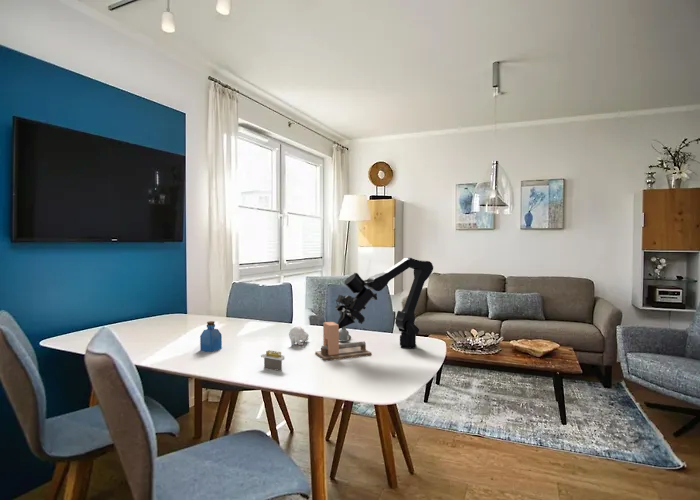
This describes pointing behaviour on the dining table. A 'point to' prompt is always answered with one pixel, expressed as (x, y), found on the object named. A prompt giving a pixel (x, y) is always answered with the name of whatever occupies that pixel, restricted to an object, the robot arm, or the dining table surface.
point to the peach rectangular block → (331, 337)
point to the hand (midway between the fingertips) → (336, 329)
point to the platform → (273, 360)
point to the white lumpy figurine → (298, 335)
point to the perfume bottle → (210, 338)
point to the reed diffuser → (344, 333)
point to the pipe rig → (345, 351)
